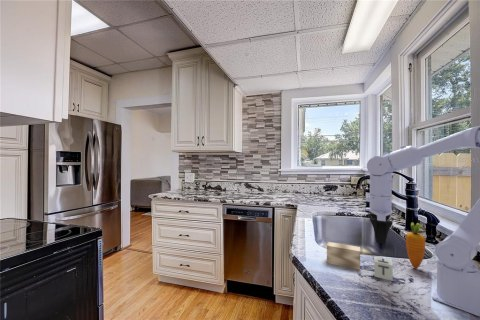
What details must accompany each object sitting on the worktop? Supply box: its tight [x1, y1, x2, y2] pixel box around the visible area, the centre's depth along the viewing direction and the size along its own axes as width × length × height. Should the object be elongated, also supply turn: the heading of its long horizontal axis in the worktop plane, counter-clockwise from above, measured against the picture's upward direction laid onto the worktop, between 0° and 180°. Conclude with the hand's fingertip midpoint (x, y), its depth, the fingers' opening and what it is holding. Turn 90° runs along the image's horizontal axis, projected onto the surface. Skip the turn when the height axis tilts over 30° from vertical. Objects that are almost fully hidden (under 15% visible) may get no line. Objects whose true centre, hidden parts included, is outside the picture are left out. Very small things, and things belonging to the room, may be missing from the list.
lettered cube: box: [373, 256, 394, 281], centre depth 67 cm, size 4×5×5 cm
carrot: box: [405, 222, 426, 270], centre depth 71 cm, size 5×5×15 cm
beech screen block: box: [326, 241, 361, 271], centre depth 74 cm, size 10×4×6 cm, turn 61°
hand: (380, 239), depth 68 cm, fingers open, 7 cm apart
